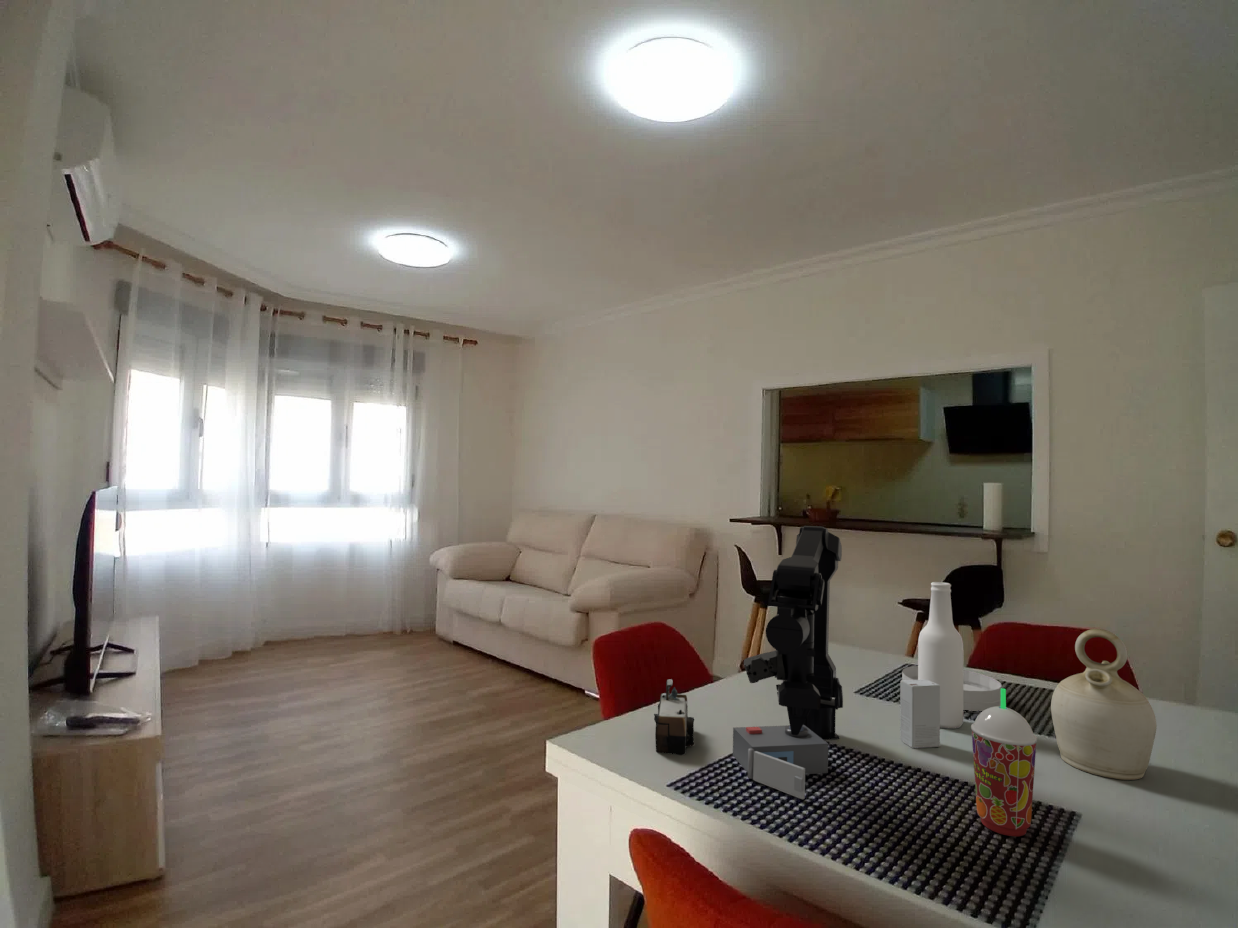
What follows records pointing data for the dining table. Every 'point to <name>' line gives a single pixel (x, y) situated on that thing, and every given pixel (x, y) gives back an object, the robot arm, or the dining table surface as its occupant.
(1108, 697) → the jug
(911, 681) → the skincare box
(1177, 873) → the dining table surface
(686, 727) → the camera
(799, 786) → the side door
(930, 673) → the alcohol
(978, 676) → the dish
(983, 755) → the smoothie
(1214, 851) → the dining table surface
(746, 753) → the grey appliance box
